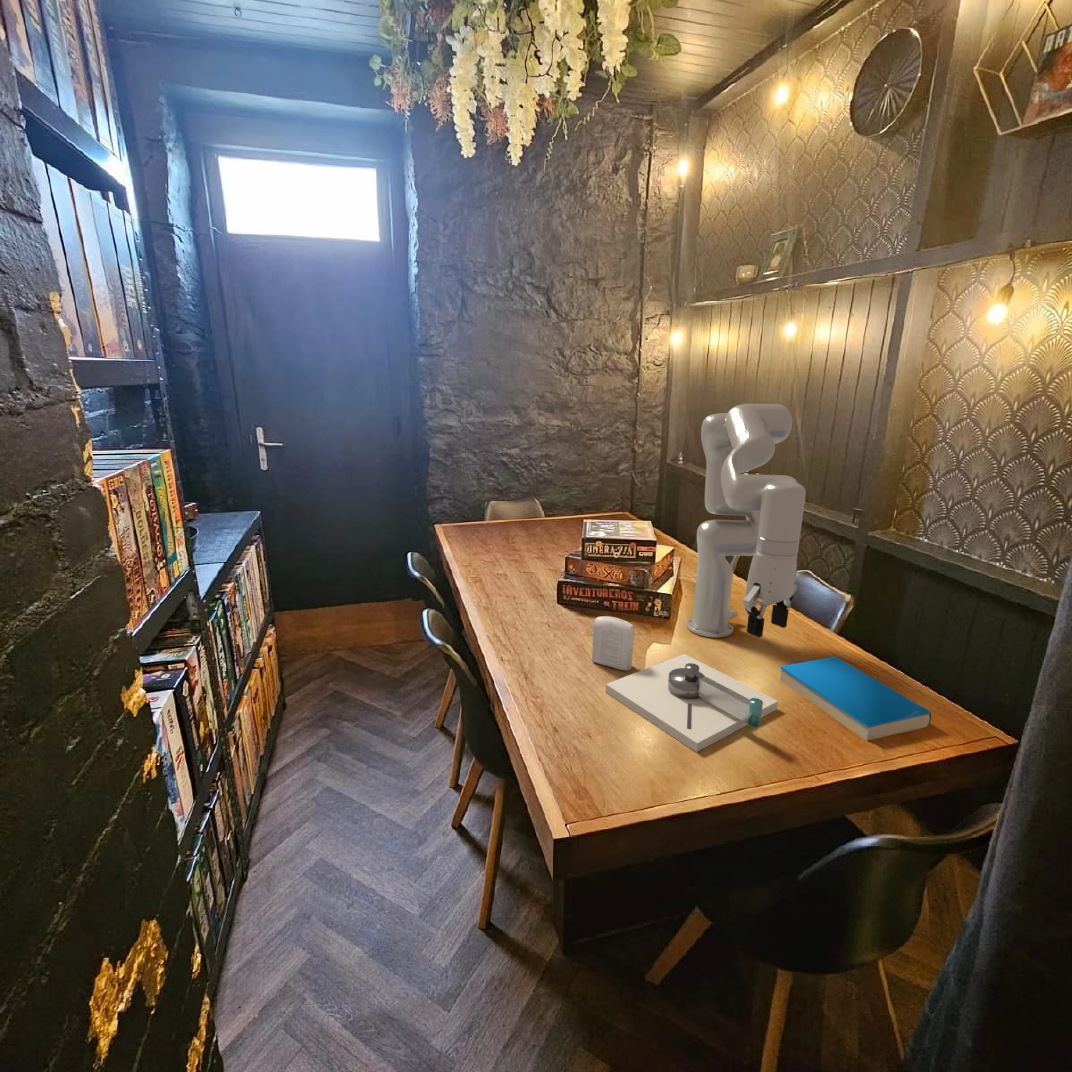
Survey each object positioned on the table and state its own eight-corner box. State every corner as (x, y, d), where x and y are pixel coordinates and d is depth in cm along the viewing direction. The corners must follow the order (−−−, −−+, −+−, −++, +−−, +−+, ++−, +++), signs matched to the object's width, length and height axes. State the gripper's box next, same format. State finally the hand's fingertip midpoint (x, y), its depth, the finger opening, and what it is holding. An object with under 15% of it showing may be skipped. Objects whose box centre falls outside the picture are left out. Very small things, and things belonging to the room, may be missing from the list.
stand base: (683, 661, 144) (684, 653, 144) (776, 709, 124) (778, 700, 123) (605, 692, 130) (606, 683, 130) (696, 752, 110) (697, 742, 109)
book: (869, 726, 112) (779, 665, 135) (865, 745, 113) (777, 681, 136) (934, 711, 117) (837, 654, 140) (929, 729, 119) (834, 670, 141)
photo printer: (634, 665, 142) (637, 619, 139) (628, 673, 139) (631, 625, 135) (596, 655, 147) (598, 610, 144) (589, 662, 143) (590, 616, 140)
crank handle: (660, 686, 128) (662, 662, 127) (684, 676, 133) (686, 652, 131) (745, 736, 111) (749, 709, 109) (770, 723, 115) (774, 696, 113)
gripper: (785, 535, 119) (775, 614, 124) (732, 548, 109) (723, 633, 114) (820, 543, 113) (808, 626, 118) (767, 558, 104) (756, 648, 108)
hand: (766, 629), depth 116 cm, fingers open, 7 cm apart
